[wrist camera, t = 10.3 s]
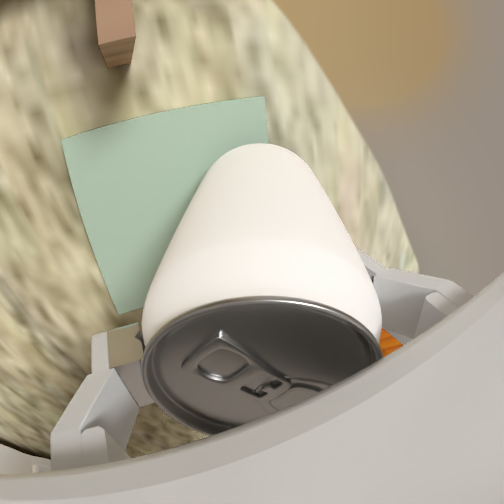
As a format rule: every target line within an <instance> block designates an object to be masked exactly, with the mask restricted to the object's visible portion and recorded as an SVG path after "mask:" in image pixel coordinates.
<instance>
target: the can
mask: <svg viewBox="0 0 504 504" xmlns="http://www.w3.org/2000/svg"><path fill="white" fill-rule="evenodd" d="M381 328H382V314H381V308H380V303H379V300H378V296H377V293H376V290H375V288H374V286H373V283H372V281H371V279H370V276H369V274H368V272H367V270H366V268H365V266H364V264H363V262H362V260H361V258H360V256H359V254H358V252H357V250H356V248H355V246H354V244H353V242H352V240H351V238H350V236H349V234H348V232H347V230H346V229H345V227H344V225H343V223H342V221H341V219H340V218H339V216H338V214H337V212H336V210H335V209H334V207H333V205H332V203H331V202H330V200H329V198H328V196H327V195H326V193H325V191H324V190H323V188H322V186H321V185H320V183H319V181H318V180H317V178H316V176H315V175H314V173H313V172H312V170H311V169H310V168H309V166H308V165H307V164H306V163H305V162H304V161H303V160H302V159H301V158H300V157H299V156H297V155H296V154H294V153H293V152H291V151H289V150H287V149H285V148H283V147H280V146H277V145H272V144H265V143H255V144H248V145H243V146H240V147H237V148H235V149H232V150H230V151H229V152H227V153H225V154H224V155H222V156H221V157H220V158H219V159H218V160H217V161H216V162H215V163H214V164H213V165H212V166H211V167H210V169H209V170H208V171H207V173H206V175H205V176H204V178H203V180H202V182H201V183H200V185H199V187H198V189H197V191H196V193H195V194H194V196H193V198H192V200H191V202H190V204H189V206H188V208H187V210H186V212H185V214H184V215H183V217H182V219H181V221H180V223H179V225H178V227H177V229H176V231H175V233H174V235H173V238H172V240H171V242H170V244H169V246H168V248H167V250H166V252H165V254H164V256H163V259H162V261H161V263H160V265H159V267H158V270H157V272H156V274H155V276H154V279H153V281H152V284H151V286H150V289H149V291H148V294H147V297H146V300H145V304H144V308H143V313H142V333H143V339H144V344H145V350H144V352H143V355H142V360H141V376H142V380H143V383H144V386H145V388H146V390H147V392H148V394H149V395H150V397H151V398H152V400H153V401H154V402H155V403H156V404H157V406H158V407H159V408H160V409H161V410H163V411H164V412H165V413H166V414H167V415H169V416H170V417H171V418H173V419H174V420H176V421H177V422H179V423H181V424H183V425H185V426H186V427H188V428H191V429H193V430H195V431H198V432H200V433H203V434H206V435H209V436H212V435H215V434H218V433H221V432H224V431H227V430H230V429H233V428H235V427H238V426H241V425H243V424H246V423H249V422H251V421H254V420H256V419H259V418H261V417H264V416H266V415H269V414H271V413H274V412H276V411H278V410H281V409H283V408H285V407H288V406H290V405H292V404H294V403H297V402H299V401H301V400H303V399H305V398H308V397H310V396H312V395H314V394H316V393H318V392H320V391H322V390H324V389H326V388H328V387H330V386H332V385H334V384H336V383H338V382H340V381H342V380H344V379H346V378H348V377H350V376H352V375H353V374H355V373H357V372H359V371H361V370H363V369H364V368H366V367H368V366H370V365H371V364H373V363H375V362H377V361H378V360H380V359H382V358H383V354H382V350H381V348H380V345H379V341H380V336H381Z"/></svg>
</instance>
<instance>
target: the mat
mask: <svg viewBox="0 0 504 504" xmlns="http://www.w3.org/2000/svg"><path fill="white" fill-rule="evenodd" d="M61 142H62V146H63V151H64V155H65V159H66V163H67V167H68V171H69V175H70V179H71V182H72V186H73V190H74V193H75V197H76V200H77V204H78V207H79V210H80V213H81V217H82V220H83V223H84V226H85V229H86V232H87V235H88V238H89V241H90V244H91V246H92V249H93V252H94V255H95V258H96V260H97V263H98V266H99V268H100V271H101V273H102V276H103V279H104V281H105V284H106V286H107V289H108V291H109V293H110V296H111V298H112V301H113V303H114V305H115V308H116V310H117V312H118V314H119V315H120V314H123V313H126V312H130V311H133V310H137V309H140V308H143V307H144V304H145V300H146V297H147V294H148V291H149V289H150V286H151V284H152V281H153V279H154V276H155V274H156V272H157V270H158V267H159V265H160V263H161V261H162V259H163V256H164V254H165V252H166V250H167V248H168V246H169V244H170V242H171V240H172V238H173V235H174V233H175V231H176V229H177V227H178V225H179V223H180V221H181V219H182V217H183V215H184V214H185V212H186V210H187V208H188V206H189V204H190V202H191V200H192V198H193V196H194V194H195V193H196V191H197V189H198V187H199V185H200V183H201V182H202V180H203V178H204V176H205V175H206V173H207V171H208V170H209V169H210V167H211V166H212V165H213V164H214V163H215V162H216V161H217V160H218V159H219V158H220V157H221V156H222V155H224V154H225V153H227V152H229V151H230V150H232V149H235V148H237V147H240V146H243V145H248V144H255V143H265V144H269V141H268V130H267V120H266V109H265V99H264V96H259V97H250V98H242V99H234V100H226V101H219V102H213V103H206V104H200V105H195V106H189V107H184V108H178V109H173V110H168V111H164V112H159V113H154V114H150V115H146V116H141V117H137V118H133V119H129V120H125V121H121V122H118V123H114V124H110V125H107V126H103V127H100V128H96V129H93V130H90V131H86V132H83V133H80V134H77V135H74V136H71V137H68V138H65V139H62V140H61Z"/></svg>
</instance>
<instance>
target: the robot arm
mask: <svg viewBox="0 0 504 504" xmlns="http://www.w3.org/2000/svg"><path fill="white" fill-rule="evenodd" d="M357 252H358V254H359V256H360V258H361V260H362V262H363V264H364V266H365V268H366V270H367V272H368V274H369V276H370V279H371V281H372V283H373V286H374V288H375V290H376V293H377V296H378V300H379V303H380V308H381V314H382V327H383V328H386V329H388V330H391V331H393V332H396V333H399V334H401V335H404V336H406V337H409V338H412V339H413V340H411V341H410V342H408V343H406V344H405V345H403V346H402V347H400V348H398V349H397V350H395V351H394V352H392V353H390V354H389V355H387V356H385V357H384V358H382V359H380V360H378V361H377V362H375V363H373V364H371V365H370V366H368V367H366V368H364V369H363V370H361V371H359V372H357V373H355V374H353V375H352V376H350V377H348V378H346V379H344V380H342V381H340V382H338V383H336V384H334V385H332V386H330V387H328V388H326V389H324V390H322V391H320V392H318V393H316V394H314V395H312V396H310V397H308V398H305V399H303V400H301V401H299V402H297V403H294V404H292V405H290V406H288V407H285V408H283V409H281V410H278V411H276V412H274V413H271V414H269V415H266V416H264V417H261V418H259V419H256V420H254V421H251V422H249V423H246V424H243V425H241V426H238V427H235V428H233V429H230V430H227V431H224V432H221V433H218V434H215V435H212V436H209V437H206V438H203V439H200V440H197V441H194V442H190V443H187V444H184V445H180V446H177V447H173V448H170V449H166V450H162V451H159V452H155V453H151V454H147V455H142V456H138V457H134V458H131V457H130V456H129V455H128V454H127V453H126V452H125V450H126V447H127V444H128V441H129V438H130V435H131V433H132V430H133V427H134V424H135V421H136V418H137V415H138V413H139V410H140V408H139V407H142V406H145V405H148V404H152V403H155V402H154V401H153V400H152V398H151V397H150V395H149V394H148V392H147V390H146V388H145V386H144V383H143V380H142V376H141V360H142V355H143V352H144V350H145V344H144V339H143V333H142V327H141V325H140V323H139V322H137V323H133V324H130V325H126V326H122V327H119V328H115V329H111V330H108V331H104V332H101V333H97V334H93V336H92V338H91V370H92V374H89V375H87V376H86V378H85V379H84V381H83V382H82V384H81V386H80V387H79V389H78V390H77V392H76V393H75V395H74V397H73V398H72V400H71V401H70V403H69V404H68V406H67V408H66V409H65V411H64V413H63V414H62V416H61V417H60V419H59V421H58V422H57V424H56V426H55V427H54V429H53V431H52V432H51V460H50V459H46V458H41V457H36V456H31V455H27V454H25V453H22V452H19V451H17V450H15V449H12V448H10V447H7V446H5V445H2V444H0V504H504V272H503V273H502V274H501V275H499V276H498V277H497V278H496V279H495V280H493V281H492V282H491V283H490V284H489V285H487V286H486V287H485V288H484V289H482V290H481V291H480V292H479V293H477V294H476V295H475V296H472V295H471V294H469V293H468V292H467V291H465V290H464V289H462V288H461V287H460V286H458V285H457V284H455V283H454V282H452V281H451V280H446V279H441V278H436V277H432V276H427V275H421V274H417V273H412V272H407V271H402V270H397V269H393V268H391V269H389V270H388V269H387V268H385V267H384V266H383V265H381V264H380V263H378V262H377V261H375V260H374V259H372V258H371V257H369V256H368V255H367V254H365V253H364V252H362V251H361V250H357Z"/></svg>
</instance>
